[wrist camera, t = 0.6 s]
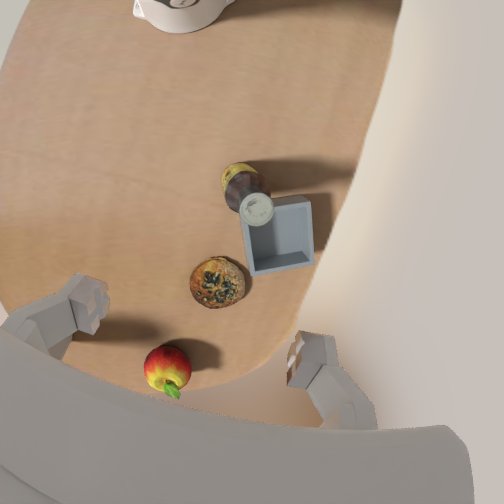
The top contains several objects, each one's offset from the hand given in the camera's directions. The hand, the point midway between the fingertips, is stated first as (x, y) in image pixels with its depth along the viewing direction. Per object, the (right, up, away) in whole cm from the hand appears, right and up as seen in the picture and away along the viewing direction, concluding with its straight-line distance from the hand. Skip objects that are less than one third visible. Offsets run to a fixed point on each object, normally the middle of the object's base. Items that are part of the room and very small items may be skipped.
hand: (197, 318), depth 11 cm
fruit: (-17, -21, +51) cm, 58 cm away
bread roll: (-5, -3, +46) cm, 46 cm away
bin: (+6, +7, +43) cm, 44 cm away
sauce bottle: (0, +15, +39) cm, 42 cm away
